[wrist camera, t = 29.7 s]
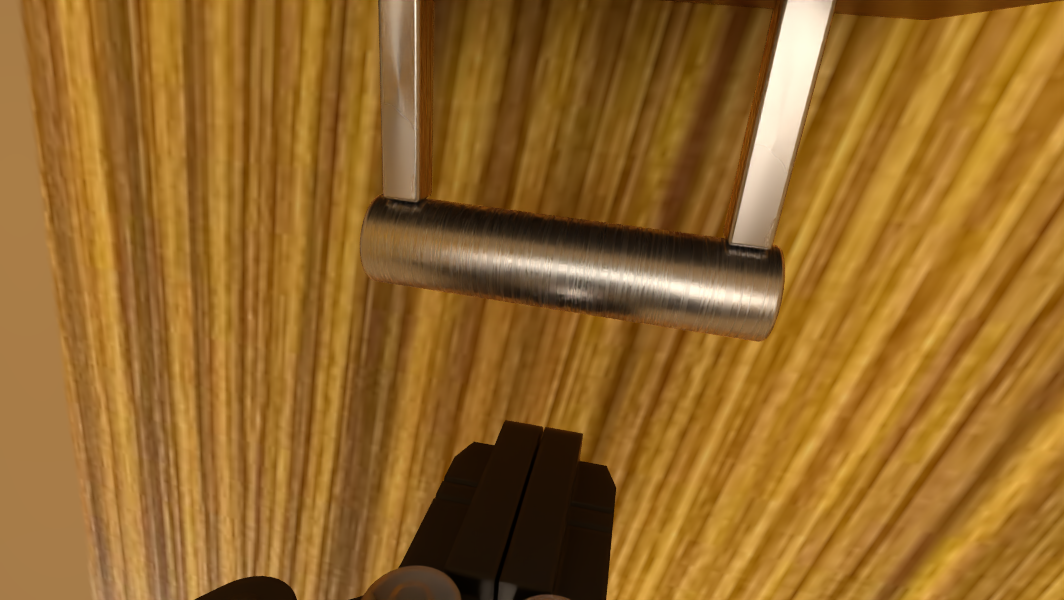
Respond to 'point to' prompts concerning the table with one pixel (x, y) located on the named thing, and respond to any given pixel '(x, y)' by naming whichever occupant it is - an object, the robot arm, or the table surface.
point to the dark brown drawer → (598, 247)
